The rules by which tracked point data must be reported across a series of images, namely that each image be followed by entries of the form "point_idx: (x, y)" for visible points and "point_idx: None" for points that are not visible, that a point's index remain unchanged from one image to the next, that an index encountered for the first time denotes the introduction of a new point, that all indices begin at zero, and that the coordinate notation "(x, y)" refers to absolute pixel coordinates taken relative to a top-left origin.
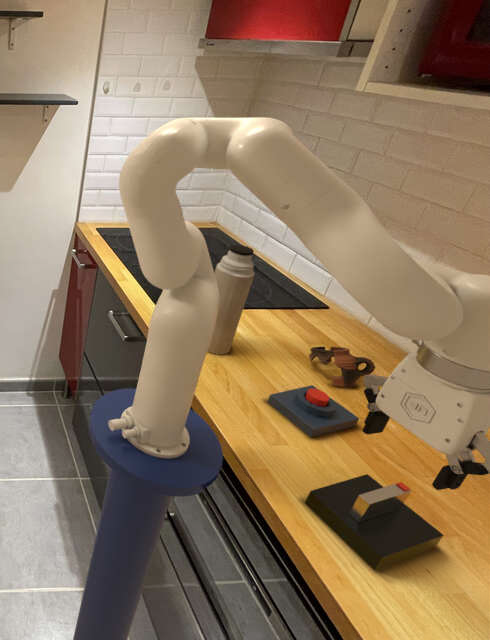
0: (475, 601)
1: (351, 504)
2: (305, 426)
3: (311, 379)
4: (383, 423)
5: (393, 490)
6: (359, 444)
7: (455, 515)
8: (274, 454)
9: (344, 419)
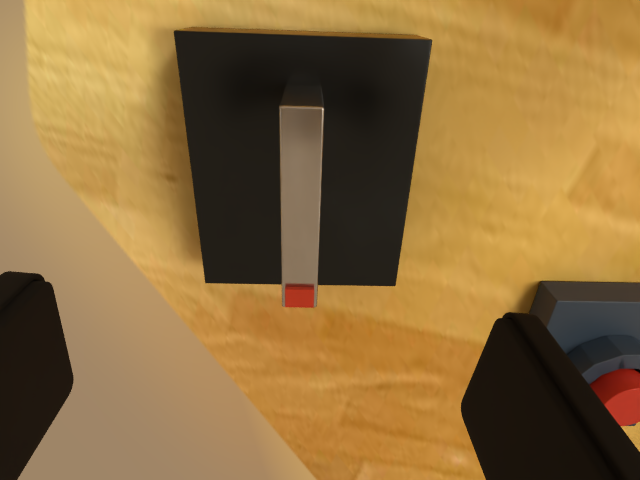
0: (96, 204)
1: (342, 135)
2: (575, 293)
3: (632, 439)
4: (502, 469)
5: (299, 254)
6: (462, 365)
7: (265, 366)
8: (573, 118)
9: None
